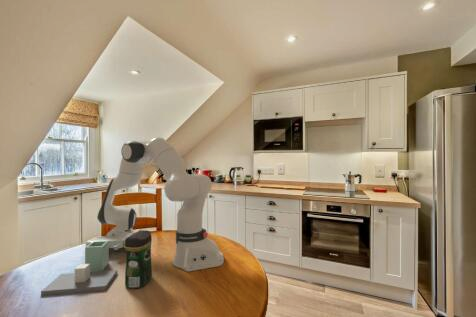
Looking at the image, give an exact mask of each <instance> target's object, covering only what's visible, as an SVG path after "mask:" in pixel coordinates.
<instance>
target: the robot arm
mask: <svg viewBox="0 0 476 317" xmlns="http://www.w3.org/2000/svg"><path fill="white" fill-rule="evenodd" d="M121 156H122V157H121V159H120V162H119V163H120V164H119V169H118V173H117V175H116V176H114V177H113V178H112V179H111V180H110V181H109V183H108V187H107V189H106V191H105V195H104V197H103V200H102V204H101V205H100V206H101V207H100V208H99V210H98V213H97V220H98V222H99V223H100V224H102V225H115V227H113V228H112V229H111V230H109V232H107V234H106V235H104V236H102V235H100V236H94V237H92V238H90V239H88V240H86V242H85V247H86V246H88V245H89V244H90V243H92V242H94V241H109V249H113V250H114V251H117V250H119V249H121V248H125V239H126V238H127V237H129V236H130V235H132V234H134V233H135V232H134V230H133V228H134V227H135V224H136V221H137V213H136V211H135V209H134V208H132V207H126V206H118V205H117V206H116V205H114V204H113V203H114V199H115V197H116V193H117V192H118V191H119V190H123V189H130V188H133V187H136V185H138V184H139V183H140V182H141V180H142V175H143V168H144V164H147V163H155V164H156V165H157V167H158V168H159V170H161V172H162V174H163V175H164V178H165V181H166V182H165V185H164V194H165V197H166V198H167V199H168V201H170V202H177V203H178V202H182V204H181V206H180V209H178V212H177V214H176V230H175V244H176V245H175V253H174V257H173V261H172V264H173V266H175V267H176V268H178V269H182V270H183V271H185V272H192V271H193V272H194V271H199V270H206V269H210V268H216V267H217V268H218V267H221V266H223V265H224V262H225V258H224V255H223V252H221V251H220V250H219V247H218V245H217V243H216V242H215V241H214V240H212V239H211V238H209V235H208V234H209V233H208V232H207V230H206V228H203V212H204V207H205V203H206V199H207V196H208V194H209V193H210V191H211V189H212V186H213V184H212V180H211V178H210V177H209V176H208V175H206V174H203V173H193V174H192V173H191V174H189V173H188V172H187V171H186V169H185V165H186V161H185V159H184V158H183V157H182V156H181V155H180V153H179V152H178V151H177V150H176V148H175V147H174V146H173V145H172V144H171V143H170V142H169V141H167V140H166V139H165V138H164V137H160V136H158V137H154V138H153V139H151V140H150V141H149V140H148V141H147V140H129V141H126V142H124V144H123V145H122V147H121Z"/></svg>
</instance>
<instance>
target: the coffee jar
mask: <svg viewBox="0 0 476 317" xmlns="http://www.w3.org/2000/svg"><path fill="white" fill-rule="evenodd" d="M124 250H125V253H126V254H125V259H126V260H125V275H124V285H125V287H126V288H129V289H132V290H133V289H140V288H142V287H144V286H145V285H146V284H147V283H149V282H150V280H151V279H152V277H153V272H152V270H153V269H152V268H153V267H152V233H151V232H150V231H149V230H142V229H141V230H138V231H136V232H134V234H132V235H130V236H129V237H127V238H126V239H125V247H124Z"/></svg>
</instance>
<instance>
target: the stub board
mask: <svg viewBox="0 0 476 317" xmlns="http://www.w3.org/2000/svg"><path fill="white" fill-rule="evenodd" d="M117 275H118V270H117V269H113V270H103V271H94V272H90V264H85V263H81V264H78V266H76V267H75V268H74V272H72V273H62V274H61V273H60V275H58V276H57V277H56V278H54V280H53V281H51V282H50V283H49V284H48V285H47V286H46V287H45V288H43V289H41V291H40V295H41V296H51V295H54V296H55V295H66V294H77V293H87V292H88V293H89V292H101V291H107V289H108V287H109V286H110V285H111V283H112V282H113V280H114V279H115V278H116V276H117Z"/></svg>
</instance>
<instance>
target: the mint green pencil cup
mask: <svg viewBox="0 0 476 317" xmlns="http://www.w3.org/2000/svg"><path fill="white" fill-rule="evenodd" d="M109 249H110V248H109V241H94V242H92V243H90V244H89V245H88V246H86V245H85V247H84V264H90V272H97V271H105V270H104V269H106V267H107V266H108V265H109V264H110V262H109V260H110V259H109V258H110V257H109V255H110V253H109V252H110V250H109Z"/></svg>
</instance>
